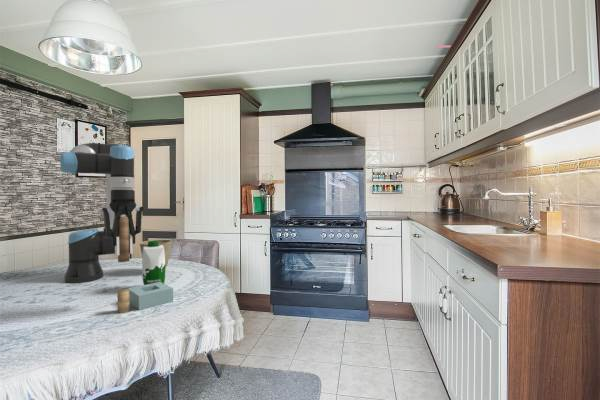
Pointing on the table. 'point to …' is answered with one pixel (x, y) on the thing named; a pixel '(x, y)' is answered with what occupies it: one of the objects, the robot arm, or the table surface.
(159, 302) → the socket block
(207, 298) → the table surface
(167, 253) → the plant pot
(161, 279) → the milk carton
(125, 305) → the oak pin short
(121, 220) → the walnut pin long
